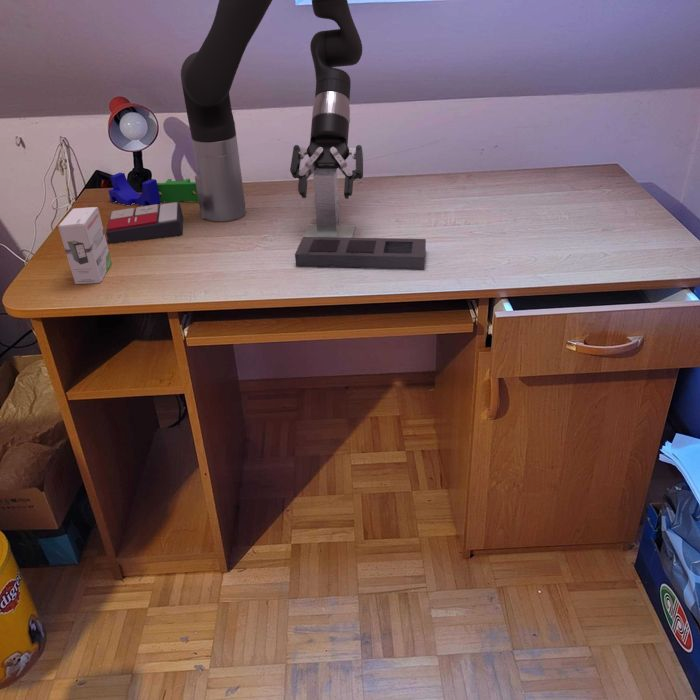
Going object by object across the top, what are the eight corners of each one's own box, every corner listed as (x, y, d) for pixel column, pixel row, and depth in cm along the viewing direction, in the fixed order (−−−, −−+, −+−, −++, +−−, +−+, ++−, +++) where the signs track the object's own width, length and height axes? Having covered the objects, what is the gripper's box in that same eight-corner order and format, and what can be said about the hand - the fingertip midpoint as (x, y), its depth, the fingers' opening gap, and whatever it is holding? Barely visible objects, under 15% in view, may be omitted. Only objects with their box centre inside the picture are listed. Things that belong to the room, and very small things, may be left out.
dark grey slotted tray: (295, 266, 126) (294, 253, 125) (303, 248, 133) (302, 236, 131) (424, 269, 123) (424, 256, 122) (425, 250, 130) (425, 238, 128)
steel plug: (317, 238, 136) (313, 175, 129) (320, 230, 139) (316, 168, 132) (336, 238, 135) (333, 175, 128) (339, 230, 138) (336, 168, 131)
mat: (299, 246, 134) (299, 244, 133) (308, 226, 142) (308, 224, 142) (349, 247, 132) (349, 245, 132) (355, 227, 141) (355, 225, 140)
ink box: (87, 264, 130) (71, 206, 124) (113, 263, 130) (98, 205, 124) (74, 285, 123) (56, 225, 117) (101, 283, 123) (84, 223, 117)
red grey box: (109, 209, 146) (179, 198, 147) (115, 228, 148) (183, 217, 150) (104, 229, 136) (178, 217, 138) (110, 248, 139) (182, 236, 141)
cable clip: (111, 202, 159) (105, 178, 156) (125, 196, 162) (120, 172, 159) (147, 211, 153) (141, 185, 150) (161, 204, 157) (156, 179, 153)
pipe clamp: (205, 197, 160) (202, 178, 157) (201, 202, 157) (198, 183, 154) (159, 197, 161) (155, 178, 158) (154, 203, 157) (150, 184, 155)
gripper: (292, 111, 132) (285, 188, 128) (364, 110, 130) (358, 188, 127) (299, 131, 139) (293, 204, 136) (367, 131, 137) (362, 205, 134)
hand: (324, 196), depth 131 cm, fingers open, 8 cm apart
